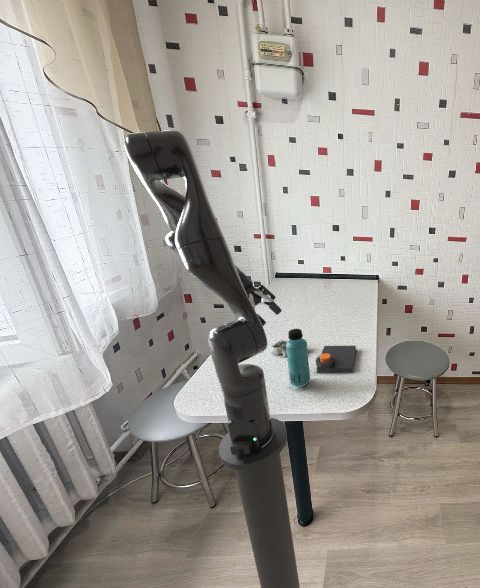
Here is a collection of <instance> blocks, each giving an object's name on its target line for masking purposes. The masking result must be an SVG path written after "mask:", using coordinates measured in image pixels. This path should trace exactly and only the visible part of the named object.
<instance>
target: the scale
mask: <svg viewBox="0 0 480 588" xmlns="http://www.w3.org/2000/svg"><path fill="white" fill-rule="evenodd" d="M356 352H357V345H324V346H323V348H322V351H321V354H324V353H328V354H330V356H331V360H330V361H329V362H327V363H322V362H320V355H319V356H317V357H316V358H315V365H316V374H322V373H323V374H324V373H325V374H328V373H353V370H354V364H355V358H356V357H355V356H356Z"/></svg>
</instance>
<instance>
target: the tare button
mask: <svg viewBox="0 0 480 588" xmlns="http://www.w3.org/2000/svg"><path fill="white" fill-rule="evenodd" d="M319 356H320V362H322V363H327V362H329V361H330V360H331V356H330V354H328V353H324V354H322V353H321V354H320V355H319Z"/></svg>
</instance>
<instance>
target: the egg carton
mask: <svg viewBox="0 0 480 588" xmlns="http://www.w3.org/2000/svg"><path fill="white" fill-rule="evenodd" d="M288 341H289V340H285V339H281V340H278V341H277V342H276V343H274V344H272V345H271V348H273V352H274V355H275V356H279V355H282V357H286V358H287V351H286V350H287V349H286V343H287V342H288Z"/></svg>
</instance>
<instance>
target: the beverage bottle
mask: <svg viewBox="0 0 480 588" xmlns="http://www.w3.org/2000/svg"><path fill="white" fill-rule="evenodd" d="M287 336H288V339H289V340H287V341H288V342H287V343H286V349H287V350H286V351H287V356H286V360H287V366H288V375H289V376H288V378H289V383H290V384H291V385H292V386H293V387H304V386H306V385H308V384H309V383H310V381H311V371H310V370H311V368H310V363H309V362H310V361H309V353H308V352H309V351H308V341H307V340H306V339H305V338H303V337H304V336H303V331H302V329H300V328H292V329H290V330H289V331H288V335H287Z"/></svg>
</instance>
